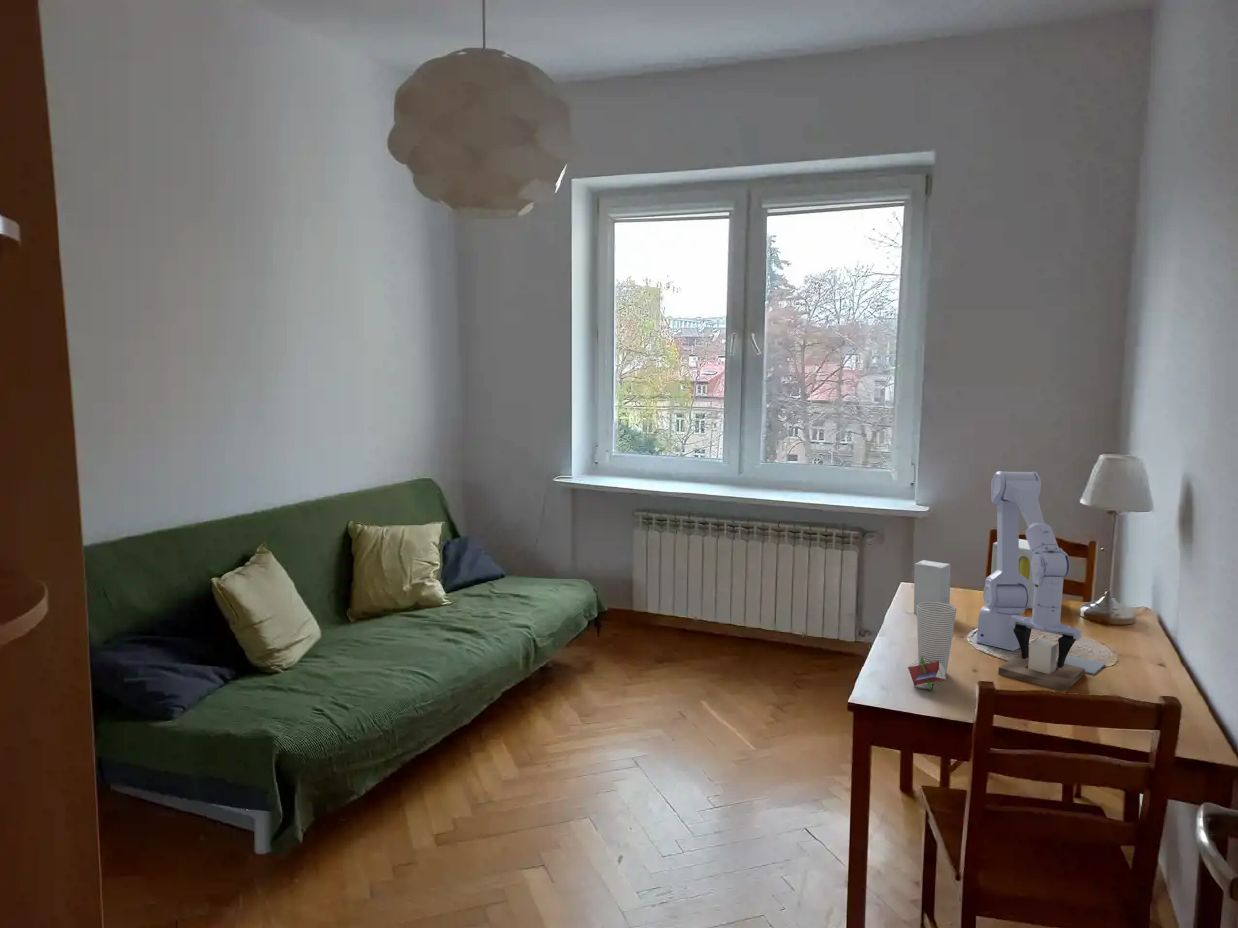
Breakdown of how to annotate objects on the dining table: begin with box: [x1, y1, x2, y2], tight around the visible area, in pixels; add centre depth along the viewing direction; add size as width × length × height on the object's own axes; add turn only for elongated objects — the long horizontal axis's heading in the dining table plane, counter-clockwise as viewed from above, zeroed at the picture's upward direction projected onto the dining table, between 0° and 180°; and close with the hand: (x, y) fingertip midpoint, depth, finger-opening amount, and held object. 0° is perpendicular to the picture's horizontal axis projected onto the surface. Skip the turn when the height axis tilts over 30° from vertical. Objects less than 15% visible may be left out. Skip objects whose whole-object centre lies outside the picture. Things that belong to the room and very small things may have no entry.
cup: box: [916, 601, 957, 675], centre depth 193 cm, size 8×8×16 cm
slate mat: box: [1056, 654, 1106, 676], centre depth 200 cm, size 9×9×1 cm
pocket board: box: [997, 653, 1086, 692], centre depth 193 cm, size 14×14×2 cm
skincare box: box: [913, 559, 951, 615], centre depth 237 cm, size 8×6×15 cm
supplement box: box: [990, 538, 1035, 610], centre depth 253 cm, size 13×13×18 cm
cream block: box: [1028, 638, 1059, 675], centre depth 193 cm, size 4×4×8 cm
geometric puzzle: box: [907, 655, 947, 693], centre depth 184 cm, size 7×7×8 cm
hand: (1042, 662), depth 193 cm, fingers open, 7 cm apart
